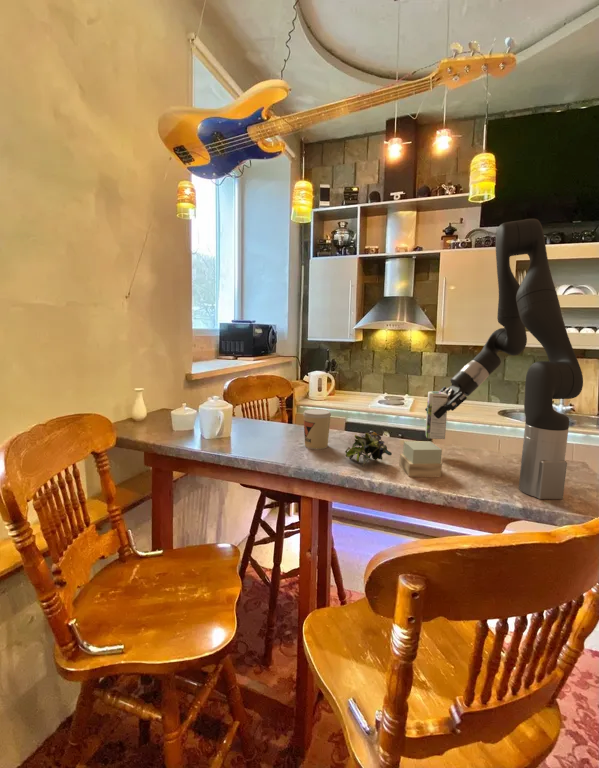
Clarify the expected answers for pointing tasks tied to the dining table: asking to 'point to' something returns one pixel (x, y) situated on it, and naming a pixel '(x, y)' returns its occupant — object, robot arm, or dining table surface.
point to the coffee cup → (316, 428)
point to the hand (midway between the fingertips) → (431, 414)
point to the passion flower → (368, 447)
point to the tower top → (422, 452)
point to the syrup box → (433, 424)
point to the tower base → (419, 468)
